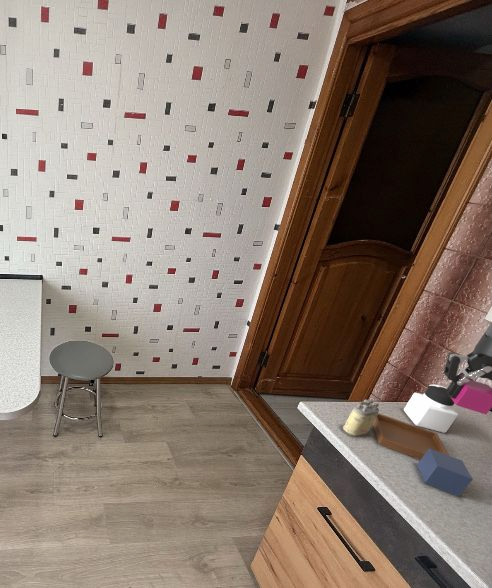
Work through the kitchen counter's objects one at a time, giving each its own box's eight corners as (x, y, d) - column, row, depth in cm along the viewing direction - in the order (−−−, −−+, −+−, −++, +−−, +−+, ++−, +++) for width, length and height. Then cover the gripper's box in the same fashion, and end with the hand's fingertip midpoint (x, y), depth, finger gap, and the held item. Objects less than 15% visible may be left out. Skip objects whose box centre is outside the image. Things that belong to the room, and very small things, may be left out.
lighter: (357, 423, 95) (373, 396, 91) (371, 434, 92) (388, 406, 88) (339, 427, 94) (354, 400, 89) (352, 438, 90) (368, 410, 86)
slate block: (448, 477, 81) (462, 460, 78) (458, 496, 76) (473, 479, 74) (416, 465, 84) (428, 448, 81) (424, 483, 79) (437, 465, 76)
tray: (433, 438, 92) (436, 433, 92) (449, 470, 83) (454, 465, 82) (370, 416, 99) (373, 411, 98) (378, 444, 89) (382, 438, 88)
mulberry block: (475, 401, 77) (488, 384, 75) (486, 414, 73) (499, 397, 71) (447, 393, 79) (458, 376, 77) (455, 405, 75) (468, 387, 73)
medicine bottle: (445, 433, 95) (469, 401, 90) (415, 426, 97) (437, 393, 92) (430, 416, 101) (451, 385, 96) (402, 409, 103) (421, 378, 98)
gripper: (551, 342, 69) (502, 404, 76) (458, 321, 75) (421, 380, 82) (577, 358, 63) (521, 425, 70) (473, 334, 69) (432, 397, 76)
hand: (467, 400), depth 76 cm, fingers closed on mulberry block, 5 cm apart
